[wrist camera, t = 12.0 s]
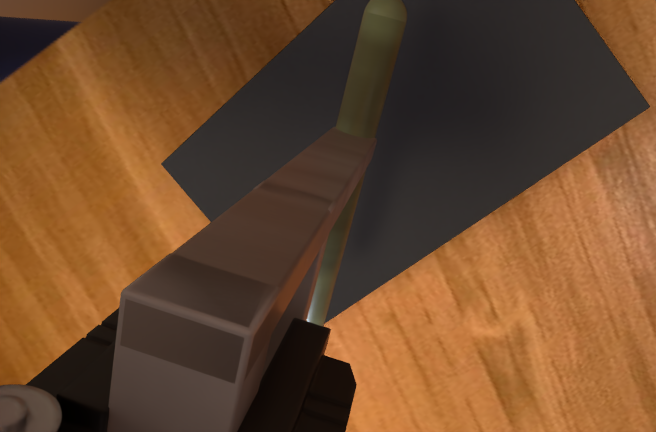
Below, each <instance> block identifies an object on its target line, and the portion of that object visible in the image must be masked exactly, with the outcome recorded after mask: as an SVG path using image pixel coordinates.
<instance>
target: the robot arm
mask: <svg viewBox="0 0 656 432" xmlns="http://www.w3.org/2000/svg"><path fill="white" fill-rule="evenodd" d="M118 316H119V308H118V309H117V310H116V311H115V312H113V313H112V314H111V315H110V316H108V317H107V318H106V319H105V320H104V321H102V324H101V325H98V326H96V327H95V328H94V329H93V330H92V331H90V332H89V333H88V334H87V336H86V338H82V339H81V340H79V341H78V342H77V343H76V344H75V345H73V346H72V347H71V348H70V349H69V350H67V351H66V352H65V353H64V354H62V355H61V356H60V357H59V358H58V359H56V360H55V361H54V362H53V363H52V364H50V365H49V366H48V367H47V368H45V369H44V370H43V371H42V372H41V373H39V374H38V375H37V376H36V377H35V378H33V379H32V380H31V381H30V382H29V383H27V384H26V385H2V386H0V432H107V427H108V418H109V410H110V408H109V407H108V405H109V396H110V388H111V379H112V370H113V361H114V352H115V343H116V334H117V325H118ZM330 331H331V329H329V328H326V327H323V326H320V325H317V324H314V323H311V322H308V321H304V320H301V319H298V318H294V319H293V320H292V322H291V324H290V326H289V328H288V330H287V332H286V333H285V335H284V337H283V339H282V341H281V343H280V345H279V347H278V349H277V351H276V352H275V354H274V356H273V358H272V360H271V362H270V364H269V366H268V368H267V369H266V371H265V373H264V375H263V377H262V379H261V381H260V385H259V389H258V392H257V394H256V396H255V398H254V400H253V402H252V404H251V406H250V408H249V410H248V412H247V414H246V415H245V417H244V419H243V421H242V423H241V425H240V427H239V429H238V431H237V432H345V431H346V426H347V423H348V418H349V414H350V410H351V406H352V402H353V397H354V393H355V389H356V382H355V378H354V375H353V372H352V369H351V366H350V364H349V363H346V362H343V361H340V360H337V359H334V358H331V357H328V356H325V355H324V353H325V349H326V346H327V342H328V339H329V335H330Z"/></svg>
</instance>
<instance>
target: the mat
mask: <svg viewBox="0 0 656 432" xmlns="http://www.w3.org/2000/svg"><path fill="white" fill-rule="evenodd" d="M369 1H370V0H335V1H334V2H333V3H332V4H331V5H330V6H329V7H328V8H327V9H325V10H324V11H323V12H322V13H321V14H320V15H319V16H318V17H317V18H316V19H315V20H314V21H313V22H312V23H311V24H310V25H308V26H307V27H306V28H305V29H304V30H303V31H302V32H301V33H300V34H299V35H298V36H297V37H296V38H295V39H294V40H292V41H291V42H290V43H289V44H288V45H287V46H286V47H285V48H284V49H283V50H282V51H281V52H280V53H279V54H278V55H276V56H275V57H274V58H273V59H272V60H271V61H270V62H269V63H268V64H267V65H266V66H265V67H264V68H263V69H262V70H261V71H259V72H258V73H257V74H256V75H255V76H254V77H253V78H252V79H251V80H250V81H249V82H248V83H247V84H246V85H245V86H243V87H242V88H241V89H240V90H239V91H238V92H237V93H236V94H235V95H234V96H233V97H232V98H231V99H230V100H229V101H227V102H226V103H225V104H224V105H223V106H222V107H221V108H220V109H219V110H218V111H217V112H216V113H215V114H214V115H213V116H211V117H210V118H209V119H208V120H207V121H206V122H205V123H204V124H203V125H202V126H201V127H200V128H199V129H198V130H197V131H196V132H194V133H193V134H192V135H191V136H190V137H189V138H188V139H187V140H186V141H185V142H184V143H183V144H182V145H181V146H180V147H178V148H177V149H176V150H175V151H174V152H173V153H172V154H171V155H170V156H169V157H168V158H167V159H166V160H165V161H164V162H162V164H161V165H162V166H163V167H164V168H165V169H166V170H167V171H168V173H169V174H170V175H171V176H172V177H173V178H174V180H175V181H176V182H177V183H178V184H179V185H180V187H181V188H182V189H183V190H184V191H185V192H186V194H187V195H188V196H189V197H190V198H191V199H192V200H193V202H194V203H195V204H196V205H197V206H198V207H199V209H200V210H201V211H202V212H203V213H204V214H205V216H206V217H207V218H208V219H209V220H210V221H211V222H212V221H214V220H215V219H216V218H218V217H219V216H220V215H221V214H223V213H224V212H225V211H227V210H228V209H229V208H230V207H232V206H233V205H234V204H235V203H237V202H238V201H239V200H241V199H242V198H243V197H244V196H246V195H247V194H248V193H250V192H251V191H252V190H253V189H254V188H255V187H256V186H258V185H259V184H260V183H261V182H263V181H265V180H266V179H267V178H269V177H270V176H271V175H273V174H274V173H275V172H276V171H278V170H279V169H280V168H282V167H283V166H284V165H285V164H287V163H288V162H289V161H291V160H292V159H293V158H294V157H296V156H297V155H298V154H300V153H301V152H302V151H303V150H305V149H306V148H307V147H308V146H310V145H311V144H312V143H314V142H315V141H316V140H317V139H319V138H320V137H321V136H323V135H324V134H325V133H326V132H328V131H329V130H330V129H332V128H333V127H336V124H337V120H338V116H339V112H340V108H341V104H342V99H343V95H344V91H345V87H346V83H347V79H348V75H349V71H350V67H351V63H352V59H353V55H354V50H355V46H356V42H357V38H358V34H359V30H360V26H361V22H362V18H363V14H364V10H365V7H366V6H367V4H368V3H369ZM401 1H402V2H403V3H404V5H405V7H406V10H407V22H406V26H405V29H404V33H403V37H402V40H401V44H400V48H399V51H398V55H397V59H396V62H395V66H394V70H393V73H392V77H391V81H390V84H389V88H388V92H387V95H386V99H385V103H384V106H383V110H382V114H381V117H380V121H379V125H378V128H377V132H376V136H375V138H376V139H377V142H376V146H375V150H374V153H373V157H372V159H371V161H370V163H369V165H368V166H367V169H366V172H365V176H364V180H363V183H362V187H361V190H360V194H359V198H358V201H357V205H356V209H355V212H354V216H353V220H352V223H351V227H350V231H349V234H348V238H347V242H346V245H345V249H344V253H343V256H342V260H341V264H340V267H339V271H338V275H337V278H336V282H335V286H334V289H333V293H332V297H331V300H330V304H329V308H328V311H327V315H326V319H325V322H324V323H326V322H327V321H329V320H330V319H332V318H333V317H335V316H336V315H338V314H339V313H341V312H342V311H344V310H345V309H347V308H348V307H350V306H351V305H353V304H354V303H356V302H357V301H359V300H360V299H362V298H363V297H365V296H366V295H368V294H370V293H371V292H373V291H374V290H376V289H377V288H379V287H380V286H382V285H383V284H385V283H386V282H388V281H389V280H391V279H392V278H394V277H395V276H397V275H398V274H400V273H401V272H403V271H404V270H406V269H407V268H409V267H410V266H412V265H413V264H415V263H416V262H418V261H419V260H421V259H422V258H424V257H425V256H427V255H428V254H430V253H431V252H433V251H434V250H436V249H437V248H439V247H440V246H442V245H443V244H445V243H446V242H448V241H449V240H451V239H452V238H454V237H455V236H457V235H458V234H460V233H461V232H463V231H464V230H466V229H467V228H469V227H470V226H472V225H473V224H475V223H476V222H478V221H479V220H481V219H482V218H484V217H485V216H487V215H488V214H490V213H491V212H493V211H494V210H496V209H497V208H499V207H500V206H502V205H503V204H505V203H506V202H508V201H509V200H511V199H512V198H514V197H515V196H517V195H518V194H520V193H521V192H523V191H524V190H526V189H527V188H529V187H530V186H532V185H533V184H535V183H536V182H538V181H539V180H541V179H542V178H544V177H545V176H547V175H548V174H550V173H551V172H553V171H554V170H556V169H557V168H559V167H560V166H562V165H563V164H565V163H566V162H568V161H569V160H571V159H572V158H574V157H575V156H577V155H578V154H580V153H581V152H583V151H584V150H586V149H587V148H589V147H591V146H592V145H594V144H595V143H597V142H598V141H600V140H601V139H603V138H604V137H606V136H607V135H609V134H610V133H612V132H613V131H615V130H616V129H618V128H619V127H621V126H622V125H624V124H625V123H627V122H628V121H630V120H631V119H633V118H634V117H636V116H637V115H639V114H640V113H642V112H643V111H645V110H646V109H648V108H649V107H650V106H649V104H648V103H647V101H646V100H645V99H644V97H643V96H642V94H641V93H640V92H639V90H638V89H637V87H636V86H635V85H634V83H633V82H632V80H631V79H630V77H629V76H628V75H627V73H626V72H625V70H624V69H623V68H622V66H621V65H620V63H619V62H618V61H617V59H616V58H615V56H614V55H613V54H612V52H611V51H610V49H609V48H608V46H607V45H606V44H605V42H604V41H603V39H602V38H601V37H600V35H599V34H598V32H597V31H596V30H595V28H594V27H593V25H592V24H591V23H590V21H589V20H588V18H587V17H586V15H585V14H584V13H583V11H582V10H581V8H580V7H579V6H578V4H577V3H576V1H575V0H401Z"/></svg>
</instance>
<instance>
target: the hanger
mask: <svg viewBox="0 0 656 432" xmlns="http://www.w3.org/2000/svg"><path fill="white" fill-rule="evenodd" d="M406 22H407V10H406V7H405V5H404V3H403V2H402V1H401V0H370V1H369V3H368V4H367V6H366V7H365V10H364V14H363V18H362V22H361V26H360V30H359V34H358V38H357V42H356V46H355V50H354V55H353V59H352V63H351V67H350V71H349V75H348V79H347V83H346V87H345V91H344V95H343V99H342V104H341V108H340V112H339V116H338V120H337V124H336V127H333V128H332V129H330V130H329V131H328V132H326V133H325V134H324V135H323V136H321V137H320V138H319V139H317V140H316V141H315V142H314V143H312V144H311V145H310V146H308V147H307V148H306V149H305V150H303V151H302V152H301V153H300V154H298V155H297V156H296V157H294V158H293V159H292V160H291V161H289V162H288V163H287V164H285V165H284V166H283V167H282V168H280V169H279V170H278V171H276V172H275V173H274V174H273V175H271V176H270V177H269V178H267V179H266V180H265V181H263V182H261V183H260V184H259V185H258V186H256V187H255V188H254V189H253V190H252V191H251V192H250V193H248V194H247V195H246V196H244V197H243V198H242V199H241V200H239V201H238V202H237V203H235V204H234V205H233V206H232V207H230V208H229V209H228V210H227V211H225V212H224V213H223V214H221V215H220V216H219V217H218V218H216V219H215V220H214V221H212V222H211V223H210V224H209V225H207V226H206V227H205V228H203V229H202V230H201V231H200V232H198V233H197V234H196V235H194V236H193V237H192V238H191V239H189V240H188V241H187V242H186V243H184V244H183V245H182V246H180V247H179V248H178V249H177V250H175V251H174V252H173V253H171V254H168V255H167V256H166V257H165V258H163V259H162V260H161V261H159V262H158V263H157V264H156V265H154V266H153V267H152V268H150V269H149V270H148V271H147V272H145V273H144V274H143V275H141V276H140V277H139V278H138V279H136V280H135V281H134V282H132V283H131V284H130V285H129V286H127V287H126V288H125V289H123V291H122V292H121V298H120V307H119V316H118V325H117V334H116V343H115V352H114V361H113V370H112V379H111V388H110V396H109V405H108V407H109V408H110V410H109V418H108V427H107V432H237V431H238V429H239V427H240V425H241V423H242V421H243V419H244V417H245V415H246V414H247V412H248V410H249V408H250V406H251V404H252V402H253V400H254V398H255V396H256V394H257V392H258V389H259V385H260V381H261V379H262V377H263V375H264V373H265V371H266V369H267V368H268V366H269V364H270V362H271V360H272V358H273V356H274V354H275V352H276V351H277V349H278V347H279V345H280V343H281V341H282V339H283V337H284V335H285V333H286V332H287V330H288V328H289V326H290V324H291V322H292V320H293V319H294V318H298V319H301V320H304V321H308V322H311V323H314V324H317V325H320V326H324V322H325V319H326V315H327V311H328V308H329V304H330V300H331V297H332V293H333V289H334V286H335V282H336V278H337V275H338V271H339V267H340V264H341V260H342V256H343V253H344V249H345V245H346V242H347V238H348V234H349V231H350V227H351V223H352V220H353V216H354V212H355V209H356V205H357V201H358V198H359V194H360V190H361V187H362V183H363V180H364V176H365V172H366V169H367V166H368V165H369V163H370V161H371V159H372V157H373V153H374V150H375V146H376V142H377V139H376V138H375V136H376V132H377V128H378V125H379V121H380V117H381V114H382V110H383V106H384V103H385V99H386V95H387V92H388V88H389V84H390V81H391V77H392V73H393V70H394V66H395V62H396V59H397V55H398V51H399V48H400V44H401V40H402V37H403V33H404V29H405V26H406Z"/></svg>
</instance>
